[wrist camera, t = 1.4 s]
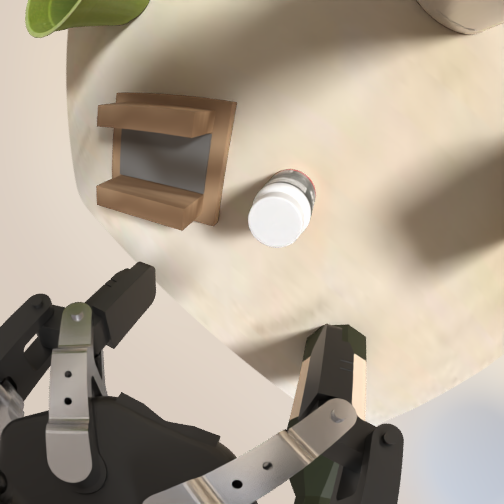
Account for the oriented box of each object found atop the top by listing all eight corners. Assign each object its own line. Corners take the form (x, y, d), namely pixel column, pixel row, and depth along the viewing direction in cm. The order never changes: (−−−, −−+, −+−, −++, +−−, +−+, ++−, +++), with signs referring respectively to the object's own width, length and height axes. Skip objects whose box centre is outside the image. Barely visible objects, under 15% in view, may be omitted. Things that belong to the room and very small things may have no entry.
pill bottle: (305, 221, 29) (293, 263, 22) (262, 203, 29) (235, 238, 22) (323, 179, 26) (318, 208, 19) (277, 160, 26) (253, 182, 19)
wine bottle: (298, 357, 38) (234, 567, 13) (316, 315, 34) (248, 579, 8) (352, 371, 37) (318, 578, 12) (378, 332, 32) (358, 585, 7)
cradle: (123, 92, 27) (89, 95, 22) (236, 102, 25) (213, 102, 20) (118, 194, 33) (88, 210, 29) (217, 221, 31) (195, 244, 27)
